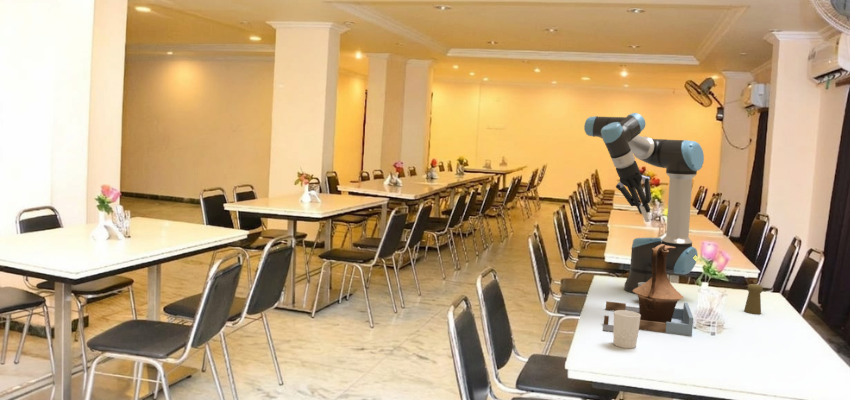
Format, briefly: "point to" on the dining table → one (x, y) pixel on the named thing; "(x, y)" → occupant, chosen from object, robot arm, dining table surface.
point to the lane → (643, 323)
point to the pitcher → (658, 290)
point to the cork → (753, 299)
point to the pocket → (679, 327)
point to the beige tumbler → (626, 328)
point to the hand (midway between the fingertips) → (648, 219)
